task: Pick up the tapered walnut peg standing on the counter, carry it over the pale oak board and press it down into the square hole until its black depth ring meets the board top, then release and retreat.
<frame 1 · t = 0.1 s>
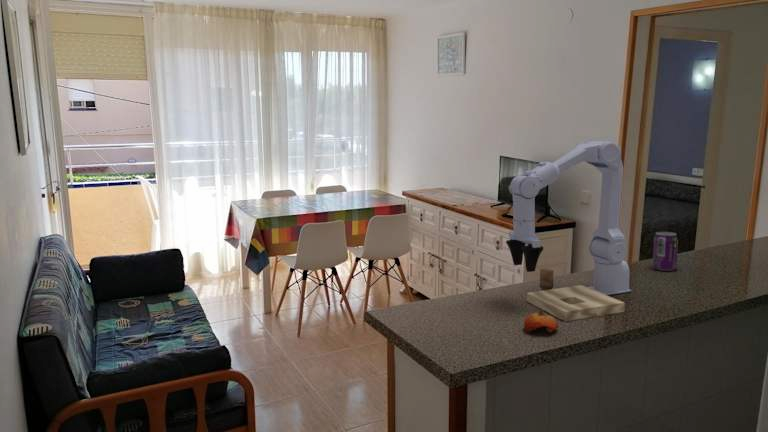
hand: (524, 268, 159), 10 cm above the counter, fingers open, 7 cm apart
peg: (546, 293, 168), on the counter
beverage can: (664, 269, 189), on the counter
tomato: (541, 332, 139), on the counter
board: (573, 306, 156), on the counter
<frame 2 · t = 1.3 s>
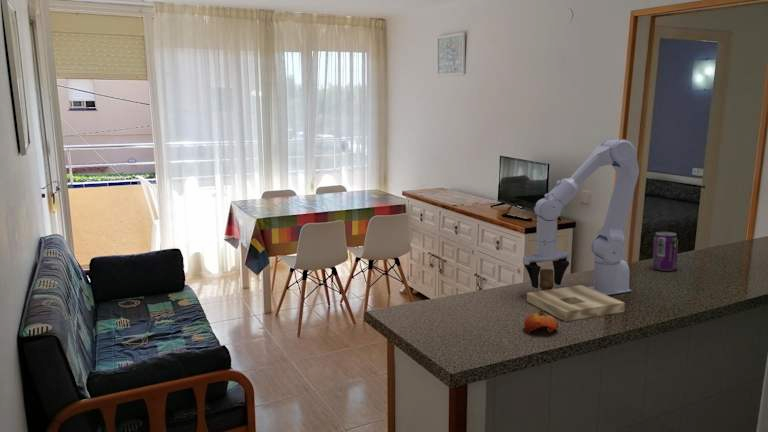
hand: (546, 285, 168), 2 cm above the counter, fingers open, 7 cm apart
nothing on the counter moved.
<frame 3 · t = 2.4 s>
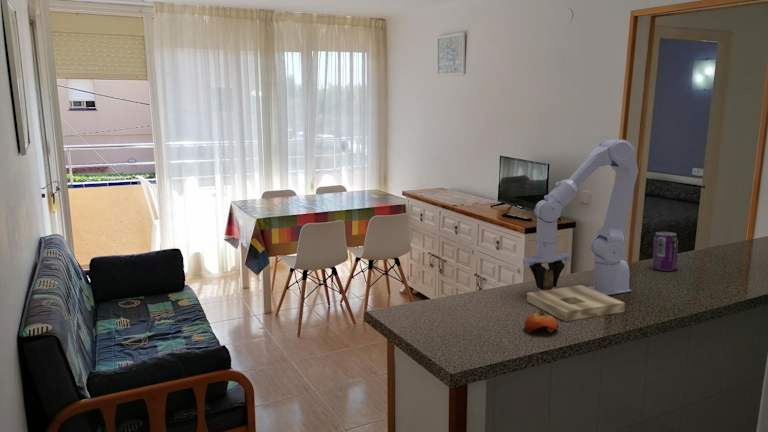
hand: (546, 287, 168), 2 cm above the counter, fingers closed on peg, 4 cm apart
peg: (546, 293, 168), on the counter, touching gripper
everything else where it was.
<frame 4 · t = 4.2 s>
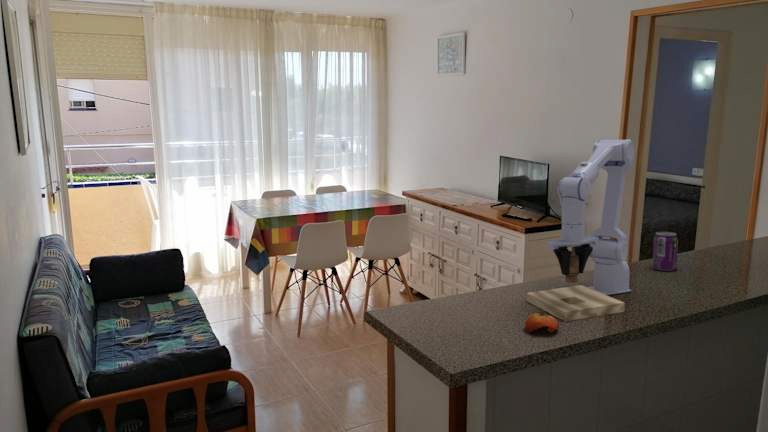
hand: (572, 273, 152), 10 cm above the counter, fingers closed on peg, 4 cm apart
peg: (571, 281, 152), point 8 cm above the counter, touching gripper
everything else where it was.
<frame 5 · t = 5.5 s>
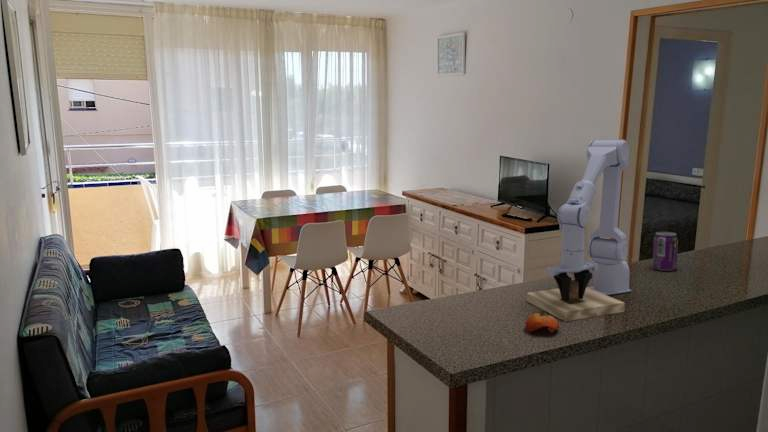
hand: (572, 299, 153), 3 cm above the counter, fingers closed on peg, 4 cm apart
peg: (571, 306, 154), point 1 cm above the counter, touching gripper
everything else where it was.
when the fingers open (3 cm above the counter, at t = 6.3 s): peg stays where it is, resting in board.
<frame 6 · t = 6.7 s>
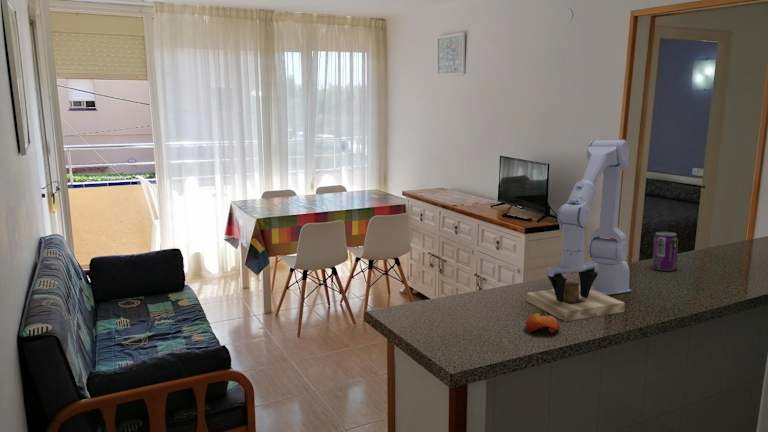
hand: (572, 299, 153), 3 cm above the counter, fingers open, 7 cm apart
peg: (571, 309, 154), resting in board
everything else where it was.
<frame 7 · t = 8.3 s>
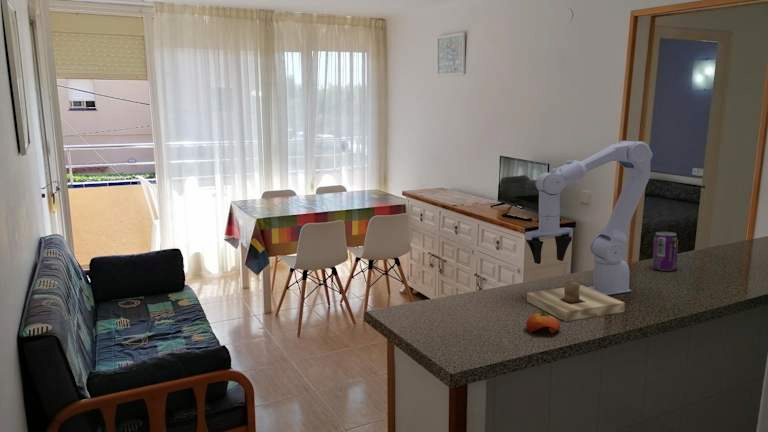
hand: (548, 261, 165), 10 cm above the counter, fingers open, 7 cm apart
nothing on the counter moved.
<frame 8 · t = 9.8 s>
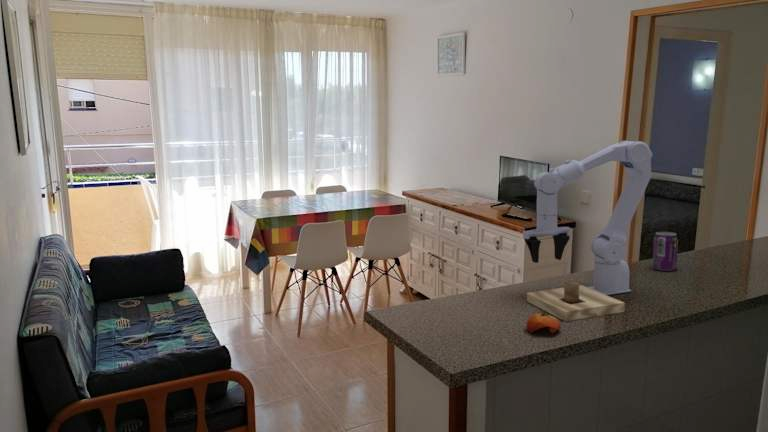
hand: (546, 260, 167), 10 cm above the counter, fingers open, 7 cm apart
nothing on the counter moved.
at the end: peg 0.2 cm from the target spot on the board, point 0.0 cm above the board's base; peg tilted 1°; the gripper is holding nothing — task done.
